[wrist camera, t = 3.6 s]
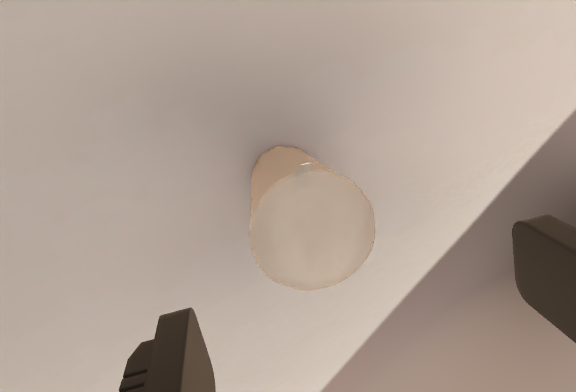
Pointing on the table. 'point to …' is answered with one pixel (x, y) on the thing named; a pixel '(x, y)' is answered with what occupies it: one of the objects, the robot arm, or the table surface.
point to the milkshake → (307, 221)
